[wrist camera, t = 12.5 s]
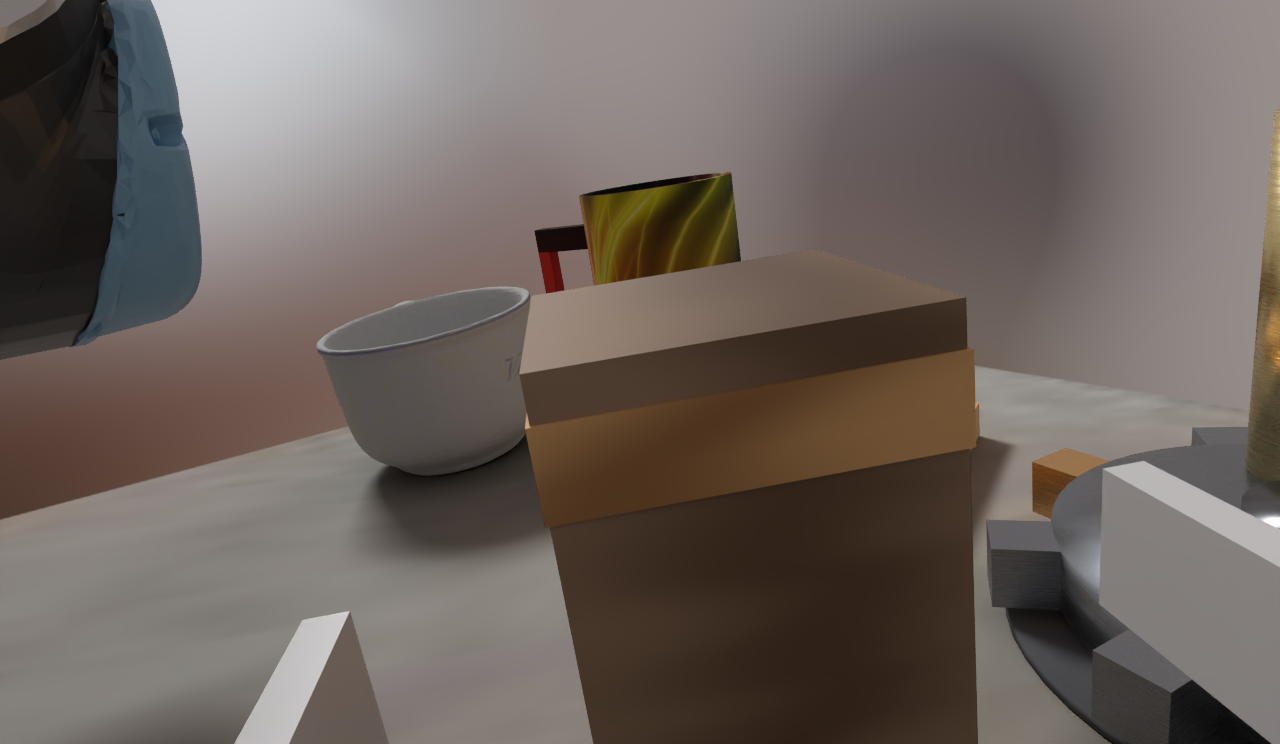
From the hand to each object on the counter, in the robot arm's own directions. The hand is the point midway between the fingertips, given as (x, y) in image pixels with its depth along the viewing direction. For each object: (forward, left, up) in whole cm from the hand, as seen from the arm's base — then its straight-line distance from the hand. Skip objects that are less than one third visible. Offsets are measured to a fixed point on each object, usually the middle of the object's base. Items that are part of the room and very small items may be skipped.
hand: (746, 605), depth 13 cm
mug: (-23, +30, -7) cm, 38 cm away
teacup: (-27, +16, -7) cm, 32 cm away
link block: (0, -1, -6) cm, 6 cm away
